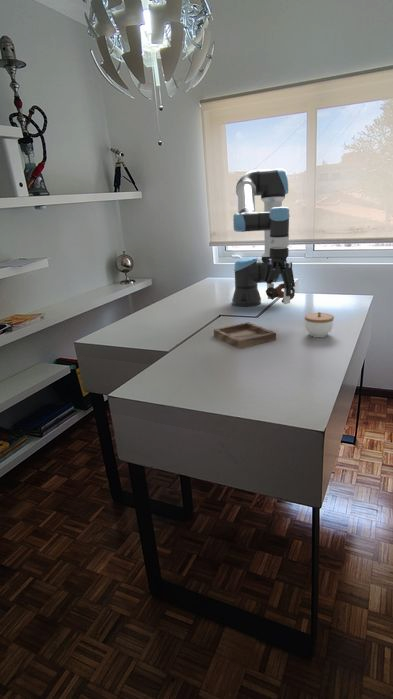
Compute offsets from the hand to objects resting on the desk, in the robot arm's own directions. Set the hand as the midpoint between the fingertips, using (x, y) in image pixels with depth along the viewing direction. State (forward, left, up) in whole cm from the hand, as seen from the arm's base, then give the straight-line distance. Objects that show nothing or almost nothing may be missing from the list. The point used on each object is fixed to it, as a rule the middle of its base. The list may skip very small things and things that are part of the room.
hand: (278, 300), depth 177 cm
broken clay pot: (-1, +1, -1) cm, 2 cm away
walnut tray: (+5, -21, -11) cm, 24 cm away
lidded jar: (+20, +4, -11) cm, 23 cm away
